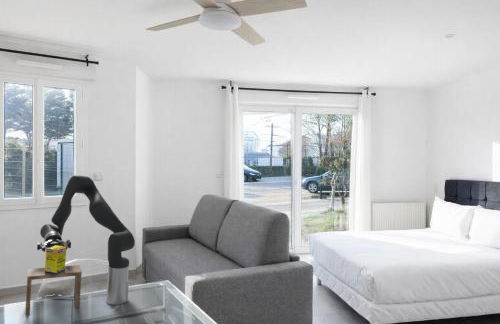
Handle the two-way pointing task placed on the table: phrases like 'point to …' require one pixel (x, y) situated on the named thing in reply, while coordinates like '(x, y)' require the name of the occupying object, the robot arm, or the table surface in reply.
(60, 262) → the supplement box
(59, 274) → the walnut shelf
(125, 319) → the table surface
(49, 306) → the table surface
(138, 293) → the table surface
